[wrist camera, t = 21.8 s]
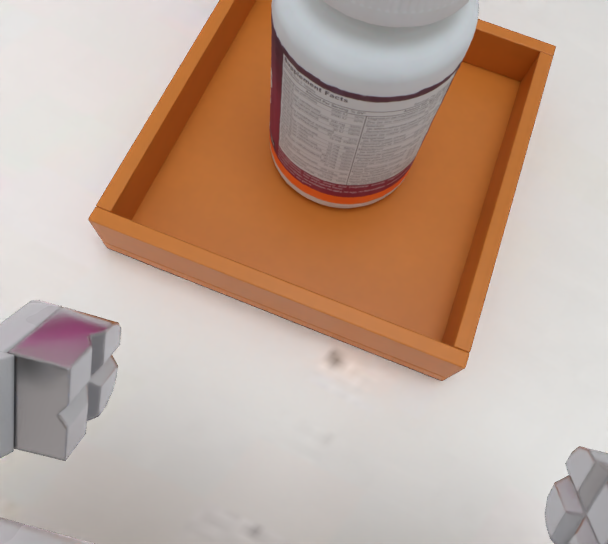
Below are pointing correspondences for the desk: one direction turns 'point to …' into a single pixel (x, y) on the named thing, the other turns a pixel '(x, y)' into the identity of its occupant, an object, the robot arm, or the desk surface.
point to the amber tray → (323, 219)
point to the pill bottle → (359, 90)
